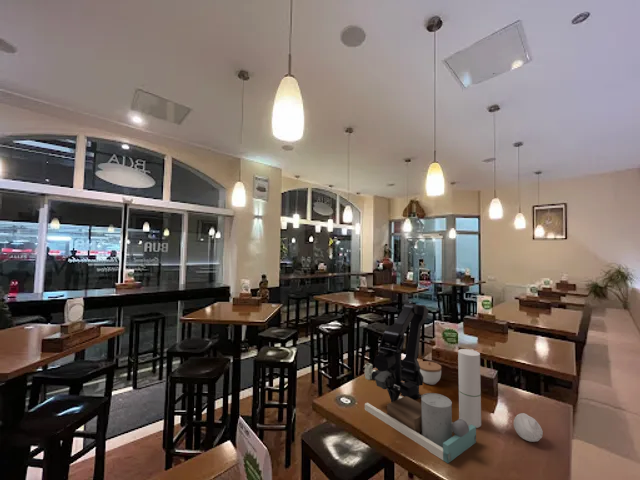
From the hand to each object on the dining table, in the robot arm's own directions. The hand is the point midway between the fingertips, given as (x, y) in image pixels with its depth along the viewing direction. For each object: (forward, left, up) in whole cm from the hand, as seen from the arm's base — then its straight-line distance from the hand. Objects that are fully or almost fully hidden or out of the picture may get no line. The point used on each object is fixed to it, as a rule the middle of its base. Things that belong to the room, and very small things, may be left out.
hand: (393, 404), depth 111 cm
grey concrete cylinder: (0, +18, -3) cm, 19 cm away
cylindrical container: (-18, +20, -3) cm, 27 cm away
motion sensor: (-24, +36, -3) cm, 43 cm away
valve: (-16, -24, -3) cm, 29 cm away
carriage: (0, +8, -3) cm, 8 cm away
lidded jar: (-35, -8, -3) cm, 36 cm away
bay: (0, +11, -3) cm, 11 cm away
